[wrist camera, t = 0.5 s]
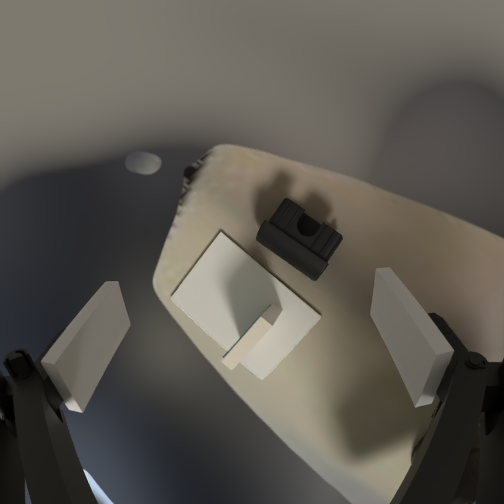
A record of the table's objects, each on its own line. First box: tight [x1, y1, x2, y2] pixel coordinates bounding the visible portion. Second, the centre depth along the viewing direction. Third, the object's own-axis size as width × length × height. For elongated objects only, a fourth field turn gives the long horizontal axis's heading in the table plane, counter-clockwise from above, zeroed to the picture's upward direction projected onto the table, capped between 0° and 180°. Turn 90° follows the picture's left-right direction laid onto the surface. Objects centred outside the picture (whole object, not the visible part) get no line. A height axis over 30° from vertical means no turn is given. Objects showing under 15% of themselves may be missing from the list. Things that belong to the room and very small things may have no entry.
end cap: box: [256, 198, 343, 281], centre depth 42 cm, size 10×7×7 cm
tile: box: [221, 303, 283, 370], centre depth 41 cm, size 2×8×10 cm, turn 141°
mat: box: [170, 232, 322, 380], centre depth 47 cm, size 20×14×1 cm
